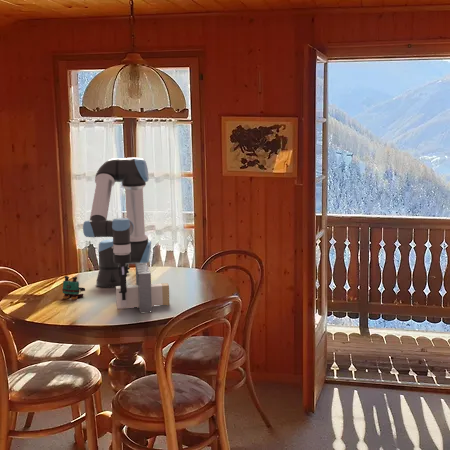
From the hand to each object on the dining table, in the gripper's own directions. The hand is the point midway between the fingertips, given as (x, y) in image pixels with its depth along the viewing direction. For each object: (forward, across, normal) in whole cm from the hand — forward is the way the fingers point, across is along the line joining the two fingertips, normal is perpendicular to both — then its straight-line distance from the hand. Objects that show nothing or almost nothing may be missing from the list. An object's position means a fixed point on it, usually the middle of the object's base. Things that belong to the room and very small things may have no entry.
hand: (123, 305), depth 276 cm
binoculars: (+1, -24, -22) cm, 32 cm away
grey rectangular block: (+1, 0, +8) cm, 9 cm away
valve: (+1, -72, 0) cm, 72 cm away
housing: (+1, 0, +9) cm, 9 cm away
